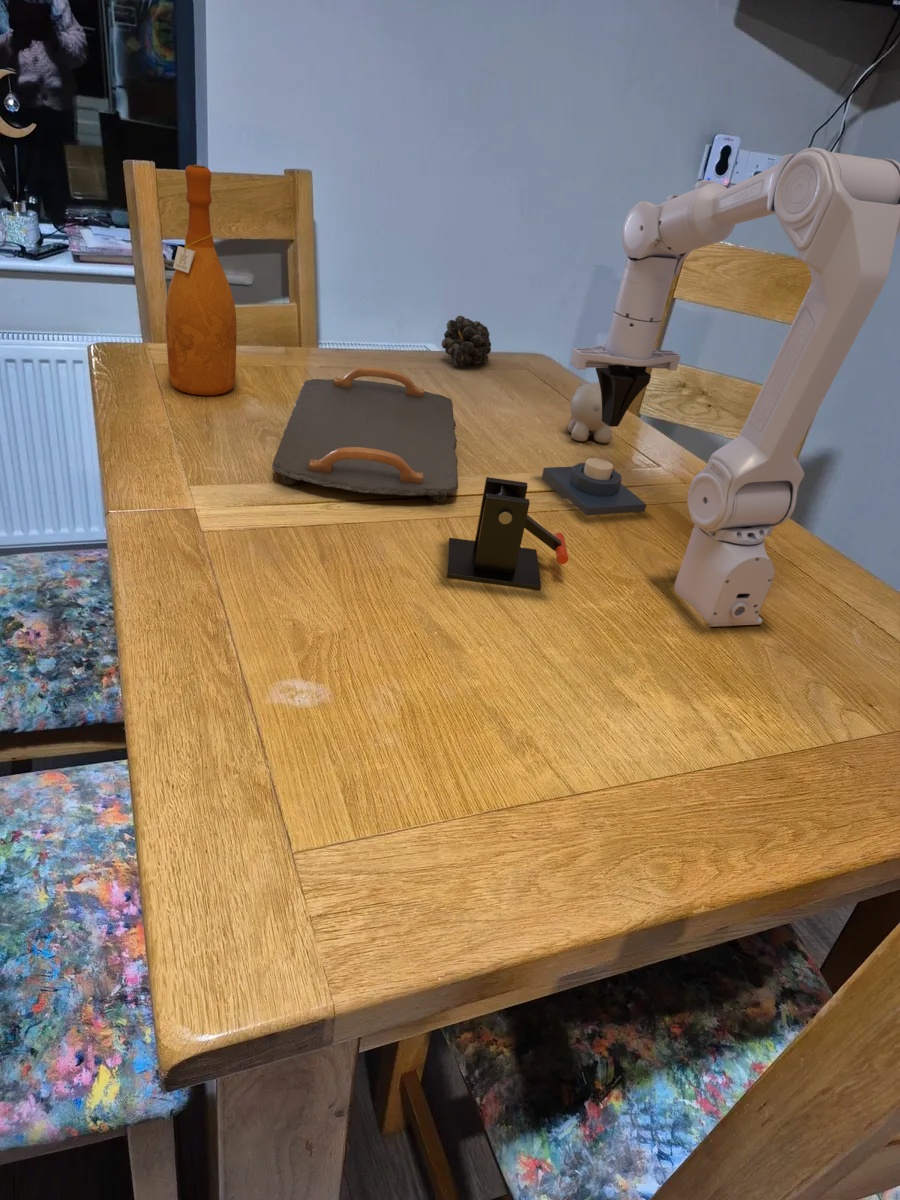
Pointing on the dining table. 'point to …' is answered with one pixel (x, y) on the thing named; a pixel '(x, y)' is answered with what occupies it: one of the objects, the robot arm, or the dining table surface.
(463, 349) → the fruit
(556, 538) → the switch lever
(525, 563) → the mini lever press
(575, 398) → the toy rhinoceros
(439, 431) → the serving tray
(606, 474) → the button
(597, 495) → the base unit
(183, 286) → the wine bottle
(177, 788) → the dining table surface
